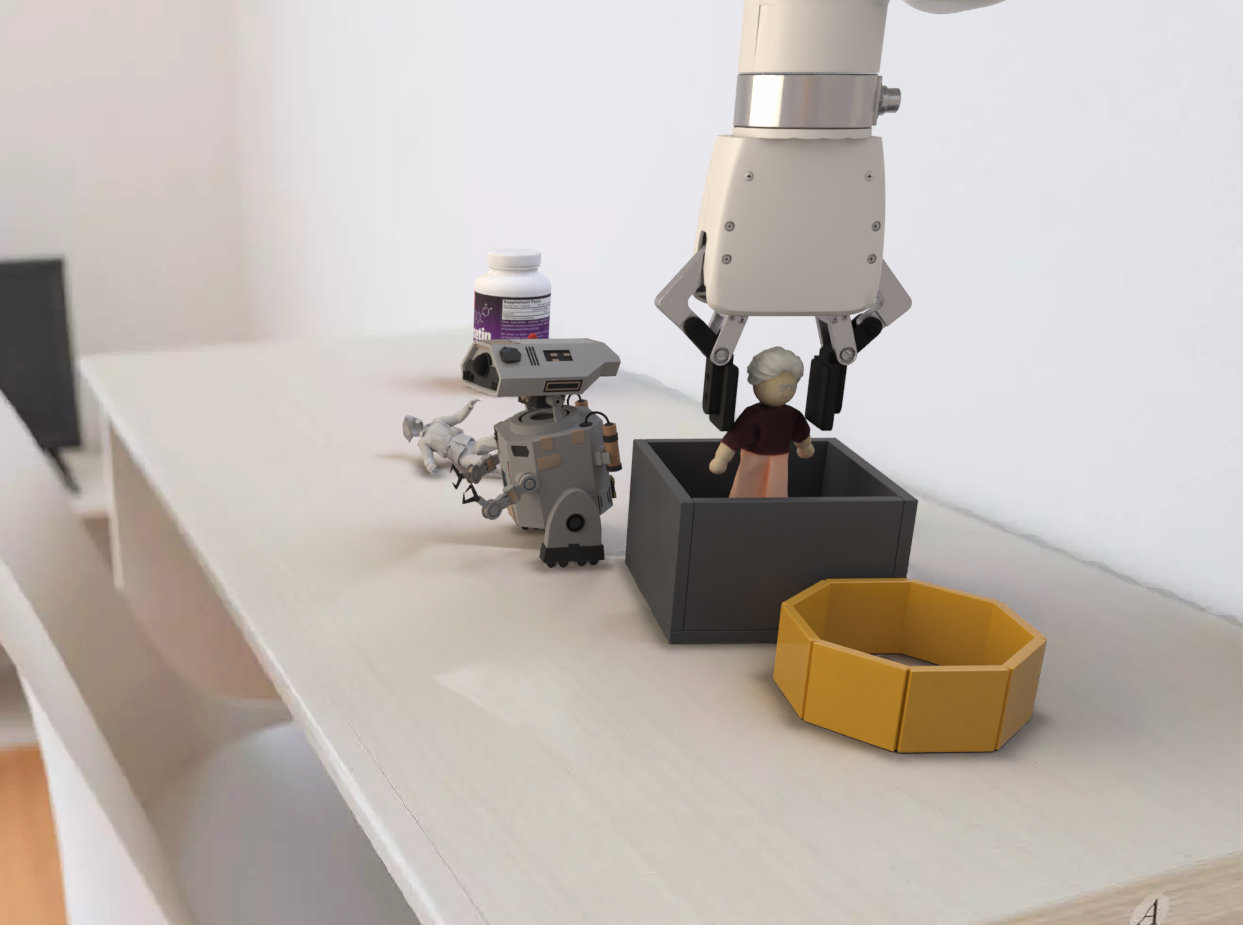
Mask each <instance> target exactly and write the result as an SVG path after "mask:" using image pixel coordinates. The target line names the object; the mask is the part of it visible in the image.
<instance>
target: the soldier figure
mask: <svg viewBox="0 0 1243 925" xmlns="http://www.w3.org/2000/svg"><path fill="white" fill-rule="evenodd" d="M481 401H482V400H481V399H480V398H477V397H475V398H471V399H470V401H468V403H466V405H464V407H463V408H461V409H460V410H458V411H457V412H456V413H453V414H451V415H444V416H439V417H435V418H434V419H433V420H432V421H431V422H428V423H426V424H425V423H424V421H423V419H422V418H418V417H415V416H412V415H409V414H406V415H405V416H404V418H403V421H402V435H403V437H404V438H405V439H406V440H407V441H408V444H409V443H411V441H412V439H413V438H414V437H415V438H419V437H420V439H419V441H418V442H417V447H418V449H419V451H420V454H421V456H422V459H423V464H424V467H425V469H426V471H427V472H428V473H430V474H431V475H433V476H435V473H434V471H435V470H436V468H437V467H438V466H437V465H436V464H435V463H436V462H435V458H434V456H435V455H434V453H437V455H438V456H440V457H441V458H443V459H444V460H445V459H448V460H450V461H451V462H452V463H455V464H456V465H457V466H458V467H460V468H461V467H462V468H465V469H466V468H467V466H468V465H470V464H472V465H476V464H477V463H478V462H482V461H481V459H480V458H481V457H482V456H483V455H485V454H490V453H491V452H493V451H498V448H497V444H496V440H495V439H494V436H495V435H494V433H493V434H490V435H487V436H484V437H481V438H478V440H476V439H475V438H474V437H473V436H470V435H468V434H465V433H464V429H462V428H460V427H457V426H456V425H458V424H461V423H463V422H464V421H465V420H466V419H467V418H468V417H469V415H470V414H471V413H472V411H473V410H474V408H475V406H474V405H476V404H477V402H481ZM495 437H496V436H495ZM496 467H497V468H496V470H494V471H493V472H490V473H487V474H486V475H488V474H497V475H502V474H501V467H500V464H498V465H496Z"/></svg>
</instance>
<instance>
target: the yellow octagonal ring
mask: <svg viewBox="0 0 1243 925" xmlns="http://www.w3.org/2000/svg"><path fill="white" fill-rule="evenodd" d="M1047 642H1048V641H1047V637H1046V636H1045V635H1044V634H1043V633H1042V632H1041V631H1039V630H1038V629H1037V628H1035V627H1034V626H1033V625H1032V624H1031V623H1029V622H1028V621H1027V620H1026V619H1024V618H1023V617H1022V616H1021V615H1020V614H1018V612H1016V611H1014V610H1013V609H1012V608H1011V607H1010V606H1009V605H1007V604H1006V603H1005V602H1003V601H999V600H998V599H995V598H990V597H986V596H982V595H979V594H975V593H971V592H967V591H962V590H959V589H955V588H950V587H949V586H948V587H947V586H944V585H941V584H940V585H939V584H935V583H932V582H928V581H925V580H920V579H916V578H912V579H911V578H909V577H907V578H869V579H826V580H821V581H819V582H817V583H816V584H814V585H812V586H811V587H809V588H807V589H805V590H804V591H802V592H800V593H798V594H797V595H795V596H793V597H791V598H790V599H788V600H786V601H784V602H783V603H782V605H781V614H780V622H779V631H778V639H777V642H776V649H775V656H774V657H775V658H774V664H773V665H774V666H773V674H772V680H773V681H774V682H775V684H776V686H777V687H778V688H779V690H780V691H781V692H782V694H783V695H784V697H785V698H786V700H787V702H788V703H789V704H790V706H791V707H792V708H793V710H794V711H795V713H796V714H797V716H798V718H800V719H802V720H803V721H804V722H805V723H809V724H811V725H814V726H817V727H820V728H823V729H826V730H829V731H831V732H835V733H838V734H839V735H840V734H841V735H844V736H847V737H849V738H853V739H855V740H857V741H861V742H863V743H866V744H870V745H873V746H875V747H878V748H881V749H883V750H887V751H890V752H895V751H897V753H899V754H904V753H905V754H907V753H910V754H911V753H979V752H980V753H981V752H982V753H984V752H989V753H990V752H994V751H999V750H1000V749H1001V748H1002V747H1003V746H1004V745H1005V744H1006V743H1007V742H1008V741H1009V740H1010V739H1012V737H1013V736H1015V735H1016V733H1017V732H1019V731H1020V730H1021V729H1022V728H1023V727H1024V726H1025V725H1026V724H1027V723H1028V722H1029V721H1030V720H1031V719H1032V718H1033V715H1034V714H1033V713H1034V708H1035V703H1036V698H1037V693H1038V688H1039V683H1040V678H1041V672H1042V669H1043V668H1042V667H1043V662H1044V658H1045V653H1046V648H1047ZM874 654H876V655H874ZM877 654H879V655H880V654H901V655H905V656H908V657H912V658H915V659H917V660H922V661H924V662H928V663H932V664H934V665H907V664H903V663H901V662H897V661H893V660H891V659H887V658H884V657H881V656H878V655H877Z"/></svg>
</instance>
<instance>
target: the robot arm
mask: <svg viewBox="0 0 1243 925" xmlns="http://www.w3.org/2000/svg"><path fill="white" fill-rule="evenodd" d="M890 1H891V0H744V2H743V10H742V11H743V13H742V24H741V31H740V32H741V34H740V43H739V58H738V64H737V73H738V74H737V76H736V88H735V98H734V109H733V121H732V125H733V126H732V130H731V133H732V134H718V135H717V136H716V138H715V142H714V145H713V148H712V151H711V155H710V160H709V164H708V167H707V171H706V176H705V181H704V186H703V191H702V196H701V201H700V208H699V211H698V212H699V213H698V220H697V225H696V231H695V236H694V245H693V252H692V257H691V258H690V259H689V260H688V261H687V262H686V263H685V264H684V266H683V267H682V268H681V269H680V270H679V271H678V272H677V273H676V274H675V275H674V276H673V277H672V278H671V279H670V280H669V282H668V283H667V284H666V285H665V286H664V287H663V288H662V289H661V290H660V291H659V292H658V294H657V295H656V296H655V298H654V306H655V307H656V309H657V310H658V311H659V312H660V313H662V314H663V315H664V316H665V317H666V318H667V319H668V320H670V321H671V322H672V323H673V324H674V325H675V326H676V327H677V328H678V329H679V330H680V331H681V332H682V333H683V334H684V335H685V337H687V338H688V340H689V341H691V343H692V344H693V345H694V346H695V347H696V348H697V349H698V350H699V351H700V353H701V354H702V355H703V356H704V357H705V365H704V366H705V367H704V378H703V388H702V401H701V406H702V412H703V413H704V414H705V415H706V416H708V420H709V422H710V423H711V424H712V425H714V427H715V428H716V429H717V430H718V431H719V432H724V433H725V432H727V431H730V429H733V427H734V422H735V418H736V407H737V398H738V396H737V395H738V388H739V376H740V368H739V366H737V365H736V364H734V359H735V354H734V352H735V350H736V349H737V348H736V347H737V345H738V343H739V341H740V338H741V336H742V334H743V331H744V329H745V327H746V324H747V322H748V320H749V317H814V319H815V320H814V321H815V323H816V330H817V334H818V339H819V344H820V348H819V351H818V354H814V355H813V358H811V360H810V366H809V373H808V382H807V391H806V398H805V399H806V400H805V406H804V408H805V409H804V417H805V418H806V420H807V422H809V423H810V424H811V425H812V426H814V427H816V428H817V429H818V430H820V431H821V432H832V431H833V428H834V423H835V422H834V421H835V415H840V413H841V412H842V409H843V402H844V395H845V388H846V387H845V386H846V380H847V378H846V377H847V372H848V366H850V365H852V364H854V362H855V361H856V360H857V357H858V354H859V353H860V352H861V351H862V350H864V349H865V348H866V347H867V346H868V345H869V344H870V343H871V342H873V341H874V340H875V339H876V338H877V337H878V336H879V335H880V334H881V333H882V332H883V330H884V329H885V328H886V327H889V326H890V325H891V324H893V323H894V322H895V321H896V320H898V319H899V318H900V317H902V316H903V315H905V314H906V313H907V312H908V311H909V310H911V308H912V305H913V300H912V297H911V296H910V294H909V293H908V292H907V291H906V289H905V287H903V285H902V284H901V282H900V281H899V279H898V278H897V276H896V275H895V273H894V272H893V271H892V269H891V268H890V267H889V265H888V264H887V262H886V260H885V258H884V247H885V230H886V167H885V166H886V165H885V155H884V143H883V137H882V136H877V135H872V134H873V133H872V132H873V127H874V126H877V124H878V123H877V122H878V119H879V116H880V117H881V116H883V115H885V114H895V113H897V112H898V111H899V109H900V107H901V101H902V92H901V89H900V88H899V87H888V86H887V85H885V84H883V76H882V75H879V73H880V70H881V63H882V55H883V47H884V38H885V32H886V31H885V30H886V24H887V15H888V7H889V4H890ZM901 1H902V2H904V3H905V4H906V5H908V6H909V7H911V8H914V9H915V10H918V11H920V12H922V13H928V14H932V15H951V14H958V13H962V12H965V11H966V12H967V11H972V10H977V9H981V8H987V7H991V6H994V5H997V4H1000V3H1002V2H1005V1H1006V0H901ZM691 297H693V298H694V299H695V300H697V301H699V302H701V303H704V304H707V305H708V307H709V308H710V309H711V310H713V313H712V314H711V318H710V320H709V321H708V322H709V323H708V324H707V323H706V322H705V321H704V320H703V319H702V318H701V317H700V316H699V315H698V314H696V313H695V311H693V310H692V308H691V307H690V306H689V299H690V298H691ZM856 314H857V315H856ZM851 315H855V316H854V317H853V318H852V319H851Z"/></svg>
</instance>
